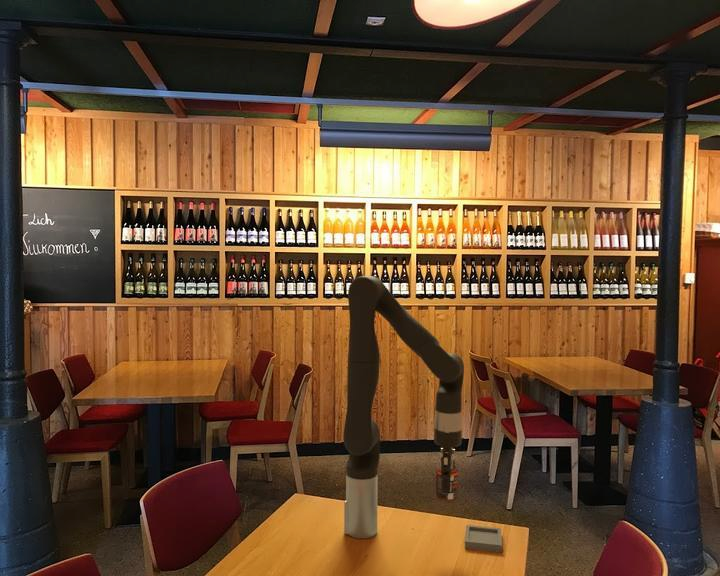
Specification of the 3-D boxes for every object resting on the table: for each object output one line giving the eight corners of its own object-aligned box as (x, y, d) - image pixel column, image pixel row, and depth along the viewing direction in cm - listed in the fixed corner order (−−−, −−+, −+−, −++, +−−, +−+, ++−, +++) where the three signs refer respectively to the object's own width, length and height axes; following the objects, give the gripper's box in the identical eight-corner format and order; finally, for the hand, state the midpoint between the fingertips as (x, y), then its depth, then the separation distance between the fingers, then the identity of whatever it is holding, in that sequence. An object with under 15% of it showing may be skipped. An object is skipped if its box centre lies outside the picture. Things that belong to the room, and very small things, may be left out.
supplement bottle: (456, 504, 151) (457, 463, 150) (434, 502, 152) (435, 461, 151) (457, 495, 157) (458, 456, 156) (436, 493, 158) (437, 454, 157)
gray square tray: (464, 548, 154) (464, 541, 154) (466, 531, 164) (466, 524, 163) (501, 552, 152) (502, 545, 152) (500, 535, 161) (501, 528, 161)
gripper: (436, 418, 161) (435, 475, 162) (432, 433, 147) (430, 495, 148) (462, 420, 160) (461, 477, 160) (460, 435, 146) (459, 498, 146)
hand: (446, 485), depth 154 cm, fingers closed on supplement bottle, 6 cm apart
